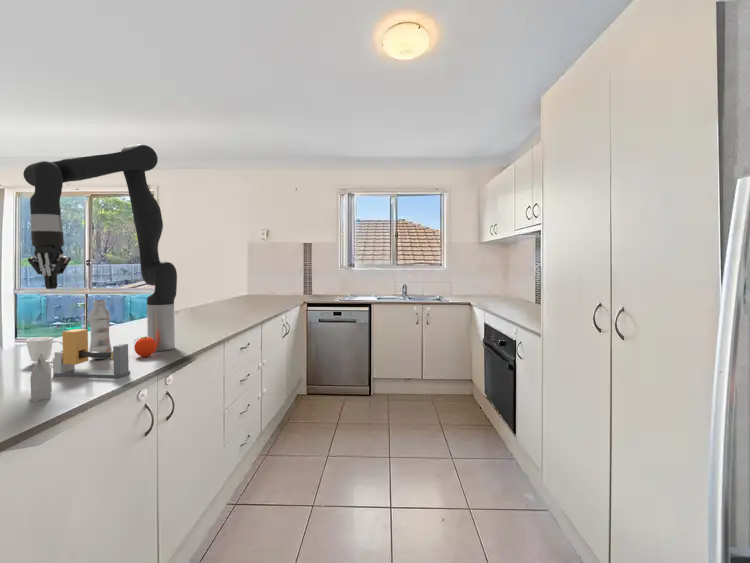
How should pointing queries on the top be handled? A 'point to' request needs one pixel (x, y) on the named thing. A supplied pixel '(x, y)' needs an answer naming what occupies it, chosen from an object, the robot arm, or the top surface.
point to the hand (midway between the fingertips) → (51, 288)
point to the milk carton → (41, 380)
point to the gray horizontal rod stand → (120, 369)
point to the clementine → (145, 346)
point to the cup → (40, 348)
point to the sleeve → (74, 345)
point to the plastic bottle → (99, 328)
